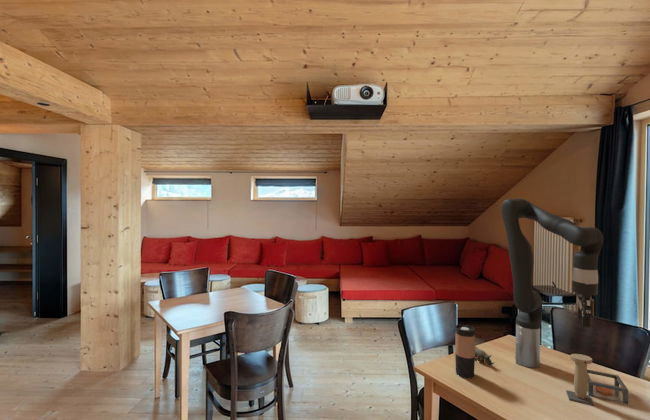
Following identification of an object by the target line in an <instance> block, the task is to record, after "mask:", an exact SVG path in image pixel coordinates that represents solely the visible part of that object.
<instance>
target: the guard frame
mask: <svg viewBox="0 0 650 420" xmlns="http://www.w3.org/2000/svg"><path fill="white" fill-rule="evenodd" d="M589 374H592V375H597V376H602V377H606V378H611V379H614V380H613V383H614V384H613V385H612V384H607V383H602V382H599V381H598V382H597V381H593V380H592V378H591V377H590V375H589ZM587 381H588V387H587V395H590V397H593V398H598V399H603V400H607V401H610V402H611V401H612V402H616V403H619V404H623V405H629V389H628V387H627V386H626V384H625V383H624V381H623V380H622V378H621V376H619V375H618V374H613V373H609V372H602V371H599V370H593V369H588V368H587ZM595 386H599V387H604V388H608V389H613V394H611V395H608V394H604V393H601V392H599V391H597V390H596V389H595Z"/></svg>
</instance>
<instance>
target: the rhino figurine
mask: <svg viewBox="0 0 650 420" xmlns="http://www.w3.org/2000/svg"><path fill="white" fill-rule="evenodd" d="M475 357H477V358H476V359H477V360H478V361H480V362H482V361H483V362H484V361H485V363H486V364H487V365H489V367H491V366H492V365H495V362H492V360H491V359H490V358H491V357H492V354H490V355H488V354H487V352H485V350H482V349H480V348H478V347H477V346H476V345H475Z"/></svg>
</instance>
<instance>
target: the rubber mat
mask: <svg viewBox="0 0 650 420" xmlns="http://www.w3.org/2000/svg"><path fill="white" fill-rule="evenodd" d="M566 394H567V397H568V400H569V401H571V402H576V403H580V404H584V405H589V406H595V404H594V401H593V399H592V396H590V395H589V394H586V398H584V399H581V398H578V397H577V396H575V391H573V390H568V389H566Z"/></svg>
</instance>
